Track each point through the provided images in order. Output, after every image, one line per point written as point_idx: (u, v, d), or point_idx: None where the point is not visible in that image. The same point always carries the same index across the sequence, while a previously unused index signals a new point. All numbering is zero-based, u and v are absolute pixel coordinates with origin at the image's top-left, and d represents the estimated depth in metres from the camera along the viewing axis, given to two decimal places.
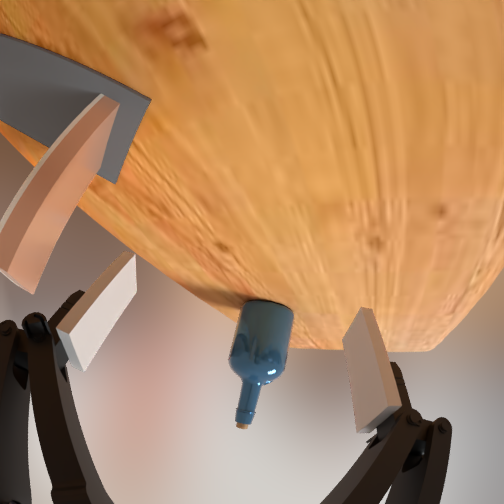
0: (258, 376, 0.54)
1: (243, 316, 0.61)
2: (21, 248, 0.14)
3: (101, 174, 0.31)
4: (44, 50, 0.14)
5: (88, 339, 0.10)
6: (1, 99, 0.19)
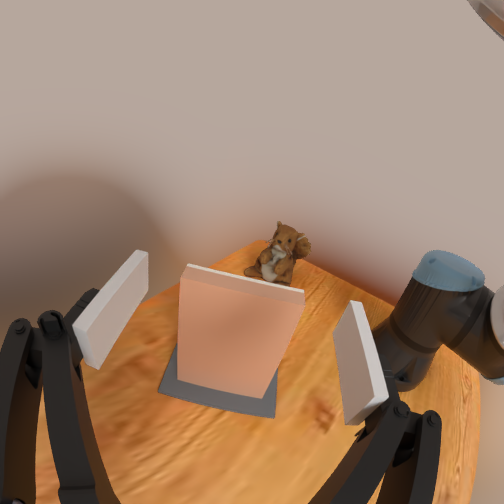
0: None
1: None
2: (289, 320, 0.26)
3: (166, 378, 0.33)
4: None
5: (103, 337, 0.10)
6: None
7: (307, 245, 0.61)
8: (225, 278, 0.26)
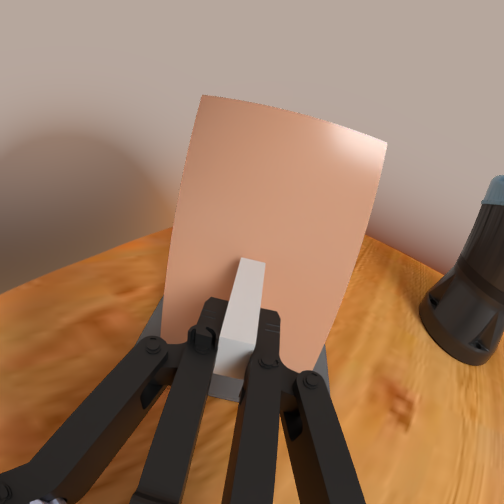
0: None
1: None
2: (368, 169, 0.15)
3: None
4: None
5: None
6: None
7: None
8: None
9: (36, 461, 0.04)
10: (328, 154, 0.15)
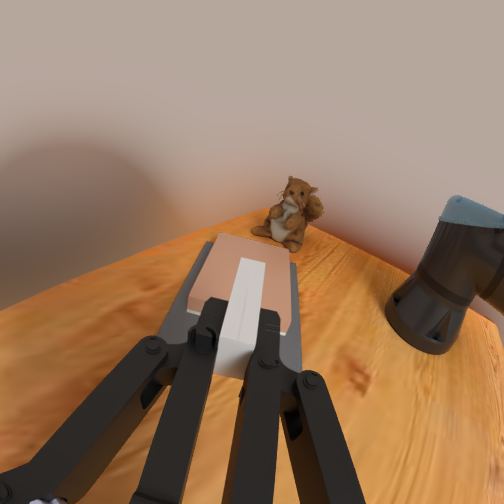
0: None
1: None
2: (284, 254, 0.44)
3: (166, 326, 0.28)
4: None
5: None
6: None
7: (319, 206, 0.56)
8: None
9: (36, 461, 0.04)
10: (267, 249, 0.44)
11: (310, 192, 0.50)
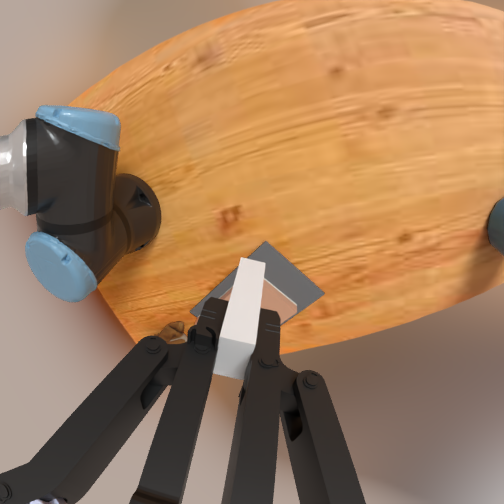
0: None
1: (497, 248, 0.38)
2: None
3: (313, 299, 0.53)
4: (216, 287, 0.54)
5: None
6: None
7: None
8: None
9: (36, 461, 0.04)
10: None
11: None
